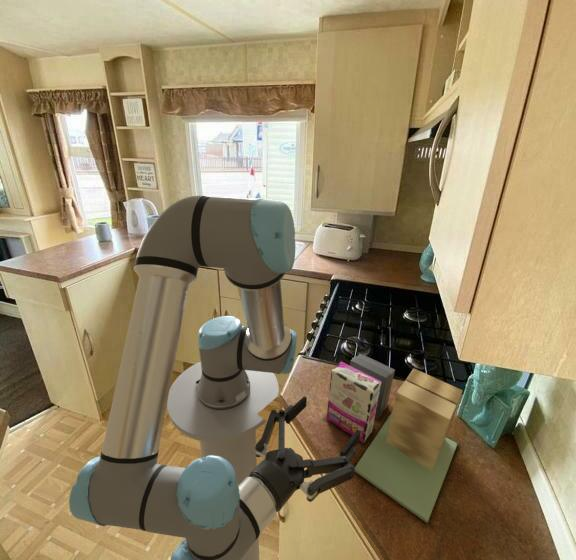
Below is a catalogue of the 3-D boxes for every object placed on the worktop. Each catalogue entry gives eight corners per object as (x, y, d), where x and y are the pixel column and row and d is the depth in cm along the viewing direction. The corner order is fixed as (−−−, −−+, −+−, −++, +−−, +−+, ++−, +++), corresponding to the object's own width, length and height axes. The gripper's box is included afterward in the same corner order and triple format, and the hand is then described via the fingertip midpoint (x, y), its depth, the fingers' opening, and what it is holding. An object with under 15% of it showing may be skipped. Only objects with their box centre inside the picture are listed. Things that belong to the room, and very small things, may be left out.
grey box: (345, 399, 88) (350, 360, 82) (354, 388, 92) (360, 350, 86) (378, 419, 83) (386, 378, 77) (387, 406, 86) (395, 366, 81)
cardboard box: (385, 442, 75) (396, 392, 69) (401, 415, 83) (413, 368, 76) (432, 471, 69) (450, 419, 62) (445, 439, 76) (462, 390, 70)
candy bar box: (373, 430, 79) (383, 381, 72) (363, 444, 76) (373, 393, 69) (335, 407, 86) (341, 360, 79) (325, 419, 82) (330, 370, 75)
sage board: (353, 470, 70) (354, 468, 69) (393, 410, 85) (394, 408, 85) (427, 523, 61) (428, 521, 60) (456, 445, 76) (457, 443, 76)
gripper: (216, 463, 62) (286, 401, 77) (321, 565, 48) (381, 464, 62) (214, 436, 59) (286, 377, 74) (325, 537, 44) (387, 438, 59)
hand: (330, 417), depth 68 cm, fingers open, 13 cm apart
